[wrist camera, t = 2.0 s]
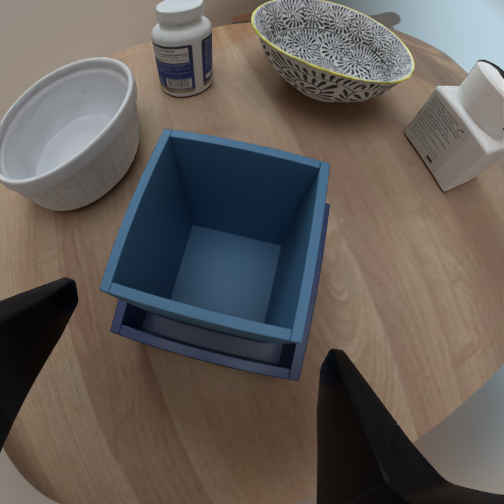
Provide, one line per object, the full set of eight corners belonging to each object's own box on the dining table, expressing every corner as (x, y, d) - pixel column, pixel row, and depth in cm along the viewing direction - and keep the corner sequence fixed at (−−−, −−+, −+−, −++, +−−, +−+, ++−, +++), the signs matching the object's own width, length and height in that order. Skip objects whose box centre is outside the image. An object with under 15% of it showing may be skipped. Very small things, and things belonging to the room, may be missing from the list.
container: (440, 125, 28) (495, 55, 15) (476, 178, 26) (544, 116, 13) (402, 132, 26) (462, 45, 14) (442, 193, 24) (525, 118, 12)
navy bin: (283, 373, 19) (298, 381, 14) (134, 334, 19) (109, 331, 14) (311, 230, 22) (330, 204, 18) (176, 199, 22) (165, 166, 18)
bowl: (390, 157, 25) (428, 107, 18) (228, 112, 25) (229, 47, 18) (381, 69, 30) (402, 27, 23) (263, 35, 30) (269, -12, 23)
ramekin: (125, 89, 25) (110, 39, 19) (176, 169, 23) (161, 110, 16) (22, 153, 22) (-10, 114, 16) (44, 254, 20) (-7, 222, 13)
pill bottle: (194, 62, 27) (189, -11, 18) (223, 83, 26) (224, 2, 17) (152, 82, 26) (136, 7, 16) (178, 106, 25) (165, 21, 16)
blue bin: (265, 343, 18) (301, 343, 9) (161, 317, 19) (98, 289, 9) (286, 244, 21) (330, 163, 11) (190, 221, 21) (164, 128, 11)
